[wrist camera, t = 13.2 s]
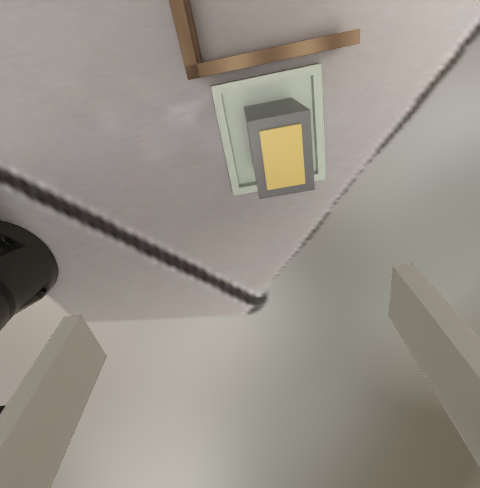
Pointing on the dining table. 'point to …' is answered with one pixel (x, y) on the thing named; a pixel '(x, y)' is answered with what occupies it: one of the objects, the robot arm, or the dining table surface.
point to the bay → (200, 69)
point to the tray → (260, 91)
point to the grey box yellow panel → (281, 147)
